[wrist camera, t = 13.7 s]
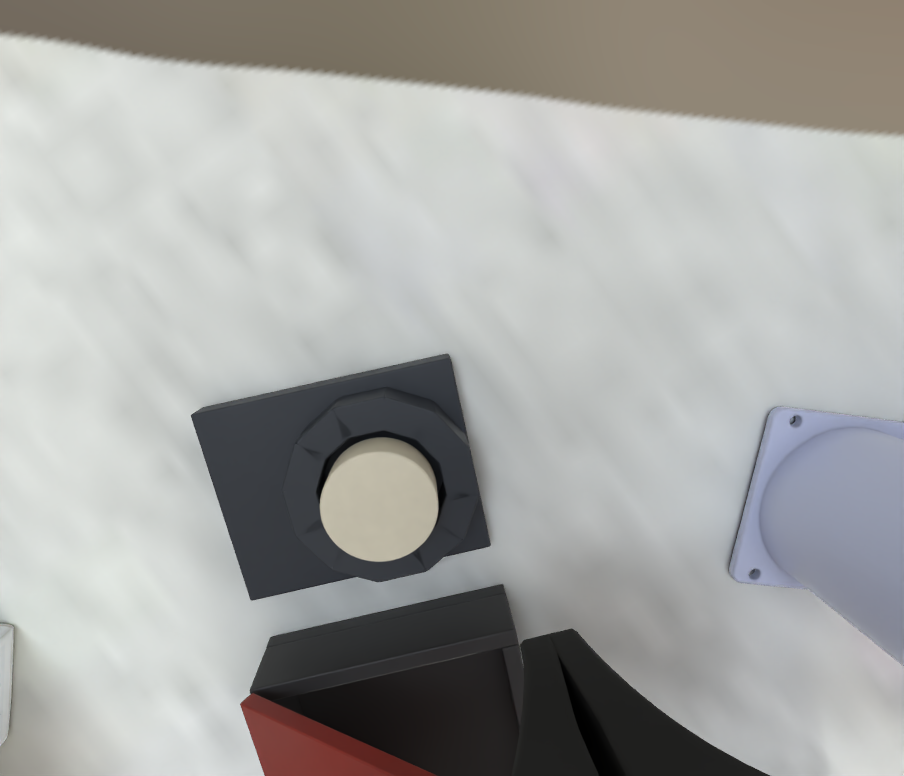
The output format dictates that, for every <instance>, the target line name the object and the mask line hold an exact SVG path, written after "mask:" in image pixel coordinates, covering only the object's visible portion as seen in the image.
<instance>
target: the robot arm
mask: <svg viewBox="0 0 904 776" xmlns="http://www.w3.org/2000/svg"><path fill="white" fill-rule="evenodd" d="M793 416H796V420H795V422H794V423H793V424H791V425H790V420H791V418H792V417H793ZM753 569H755V571H754V573H753V574H751V575H749V573H750V571H751V570H753ZM729 573H730V576H731V577H732V578H733V579H734V580H736V581H737V582H740V583H747V584H757V585H768V586H778V587H788V588H798V589H808V590H810V591H811V592H812V593H813V594H815V595H816V596H817V597H818V598H820V599H821V600H822V601H823V602H825V603H826V604H827V605H828V606H829V607H831V608H832V609H833V610H834V611H836V612H837V613H838V614H839V615H841V616H842V617H843V618H844V619H846V620H847V621H848V622H849V623H851V624H852V625H853V626H854V627H855V628H857V629H858V630H859V631H860V632H862V633H863V634H864V635H865V636H867V637H868V638H869V639H870V640H872V641H873V642H874V643H875V644H877V645H878V646H879V647H880V648H881V649H883V650H884V651H885V652H886V653H888V654H889V655H890V656H891V657H893V658H894V659H895V660H896V661H898V662H899V663H900V664H901V665H903V666H904V422H900V421H892V420H884V419H877V418H869V417H861V416H853V415H846V414H838V413H830V412H822V411H815V410H807V409H799V408H791V407H784V406H780V407H776V408H774V409H773V410H772V411H771V412H770V414H769V416H768V419H767V423H766V427H765V431H764V435H763V439H762V443H761V446H760V450H759V454H758V458H757V462H756V466H755V470H754V473H753V477H752V481H751V485H750V489H749V493H748V497H747V501H746V504H745V508H744V512H743V516H742V520H741V524H740V528H739V532H738V535H737V539H736V543H735V547H734V551H733V555H732V559H731V563H730V566H729ZM520 647H521V652H522V657H523V663H524V692H523V708H522V717H521V724H520V732H519V739H518V745H517V750H516V755H515V760H514V764H513V769H512V773H511V776H770V775H768V774H765V773H763V772H761V771H759V770H757V769H755V768H753V767H751V766H749V765H747V764H745V763H743V762H741V761H739V760H738V759H736V758H734V757H732V756H730V755H729V754H727V753H725V752H723V751H722V750H720V749H718V748H716V747H714V746H713V745H711V744H709V743H708V742H706V741H704V740H703V739H701V738H700V737H698V736H697V735H695V734H693V733H692V732H690V731H689V730H687V729H686V728H685V727H683V726H682V725H680V724H679V723H677V722H676V721H674V720H673V719H672V718H670V717H669V716H668V715H666V714H665V713H664V712H662V711H661V710H660V709H658V708H657V707H656V706H654V705H653V704H652V703H651V702H649V701H648V700H647V699H646V698H645V697H643V696H642V695H641V694H640V693H638V692H637V691H636V690H635V689H634V688H633V687H631V686H630V685H629V684H628V683H627V682H626V681H625V680H624V679H623V678H622V677H620V676H619V675H618V674H617V673H616V672H615V671H614V670H613V669H612V668H611V667H610V666H609V665H608V664H607V663H605V662H604V660H603V659H602V658H601V657H600V656H599V655H598V654H597V653H596V652H595V651H594V650H593V649H592V648H591V647H590V646H589V645H588V644H587V643H586V642H585V640H584V639H583V638H582V637H581V636H580V635H579V633H578V632H577V631H575V630H574V629H568V630H564V631H560V632H556V633H551V634H547V635H543V636H539V637H535V638H531V639H527V640H524V641H523V642H522V643H521V645H520Z"/></svg>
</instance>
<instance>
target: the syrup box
mask: <svg viewBox="0 0 904 776" xmlns="http://www.w3.org/2000/svg"><path fill="white" fill-rule="evenodd" d="M13 631H14V627H13V626H12V625H9V624H1V623H0V746H1V745H2V744H3V742H4V741H5V740H6V738H7V736H8V731H9V719H10V708H11V693H12V667H13Z"/></svg>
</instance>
